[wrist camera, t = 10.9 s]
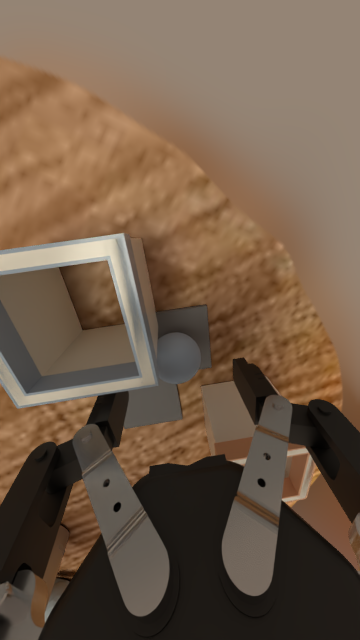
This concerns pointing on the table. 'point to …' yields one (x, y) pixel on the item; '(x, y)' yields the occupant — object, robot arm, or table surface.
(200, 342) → the coasters
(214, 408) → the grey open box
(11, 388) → the tube slate rim
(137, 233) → the table surface
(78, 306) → the table surface
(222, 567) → the robot arm
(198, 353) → the ball slate
